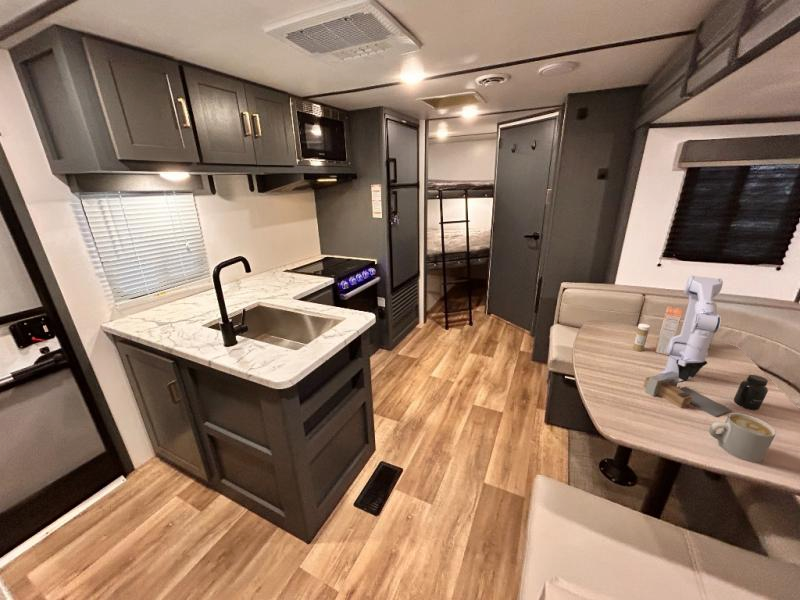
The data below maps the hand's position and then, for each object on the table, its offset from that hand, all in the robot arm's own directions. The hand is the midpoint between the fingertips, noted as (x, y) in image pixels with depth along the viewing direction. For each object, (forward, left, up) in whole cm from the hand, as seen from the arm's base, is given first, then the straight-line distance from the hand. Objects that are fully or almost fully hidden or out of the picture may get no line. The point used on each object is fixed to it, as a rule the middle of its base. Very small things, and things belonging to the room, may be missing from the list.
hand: (686, 377), depth 117 cm
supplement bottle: (-21, +10, -11) cm, 26 cm away
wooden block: (+1, -4, -11) cm, 11 cm away
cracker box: (-37, -30, -11) cm, 49 cm away
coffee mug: (+9, +21, -11) cm, 25 cm away
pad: (-7, +3, -10) cm, 13 cm away
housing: (0, -7, -10) cm, 12 cm away
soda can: (-58, -25, -11) cm, 64 cm away
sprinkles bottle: (-25, -34, -11) cm, 44 cm away
